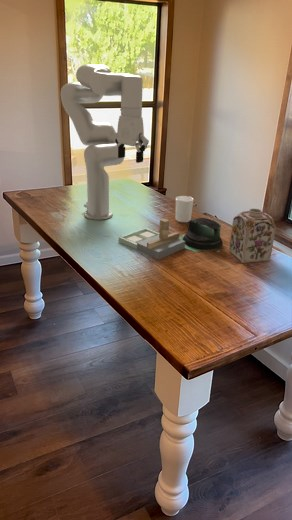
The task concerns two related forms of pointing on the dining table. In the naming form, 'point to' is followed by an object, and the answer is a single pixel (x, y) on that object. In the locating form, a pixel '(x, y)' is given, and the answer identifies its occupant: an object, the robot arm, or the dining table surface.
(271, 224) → the decorative jar
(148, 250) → the board
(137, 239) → the tile
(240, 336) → the dining table surface
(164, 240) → the tan bar
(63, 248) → the dining table surface
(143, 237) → the tile
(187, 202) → the white cup
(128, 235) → the tray
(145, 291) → the dining table surface
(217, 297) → the dining table surface
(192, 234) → the dark round cap
